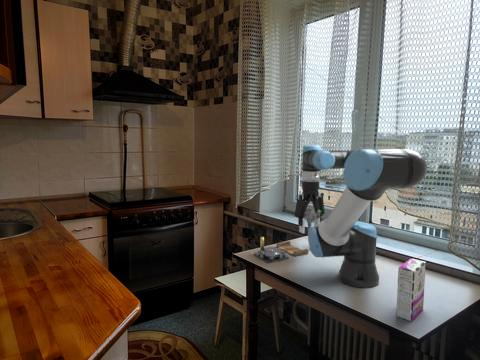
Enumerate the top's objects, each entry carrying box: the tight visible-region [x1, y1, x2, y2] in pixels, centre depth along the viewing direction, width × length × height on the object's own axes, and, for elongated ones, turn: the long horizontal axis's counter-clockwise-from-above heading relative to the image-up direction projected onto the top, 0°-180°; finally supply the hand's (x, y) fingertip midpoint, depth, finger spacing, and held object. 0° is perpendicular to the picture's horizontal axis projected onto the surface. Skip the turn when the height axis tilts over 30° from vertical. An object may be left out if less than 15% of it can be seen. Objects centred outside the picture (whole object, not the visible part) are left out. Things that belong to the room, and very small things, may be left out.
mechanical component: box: [303, 208, 322, 232], centre depth 145 cm, size 3×10×10 cm, turn 89°
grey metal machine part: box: [257, 236, 286, 259], centre depth 155 cm, size 13×13×8 cm
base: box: [253, 252, 290, 264], centre depth 156 cm, size 12×12×1 cm
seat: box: [276, 240, 309, 258], centre depth 164 cm, size 15×8×2 cm, turn 29°
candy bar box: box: [396, 258, 427, 322], centre depth 105 cm, size 11×5×16 cm, turn 135°
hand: (309, 231), depth 146 cm, fingers closed on mechanical component, 8 cm apart
